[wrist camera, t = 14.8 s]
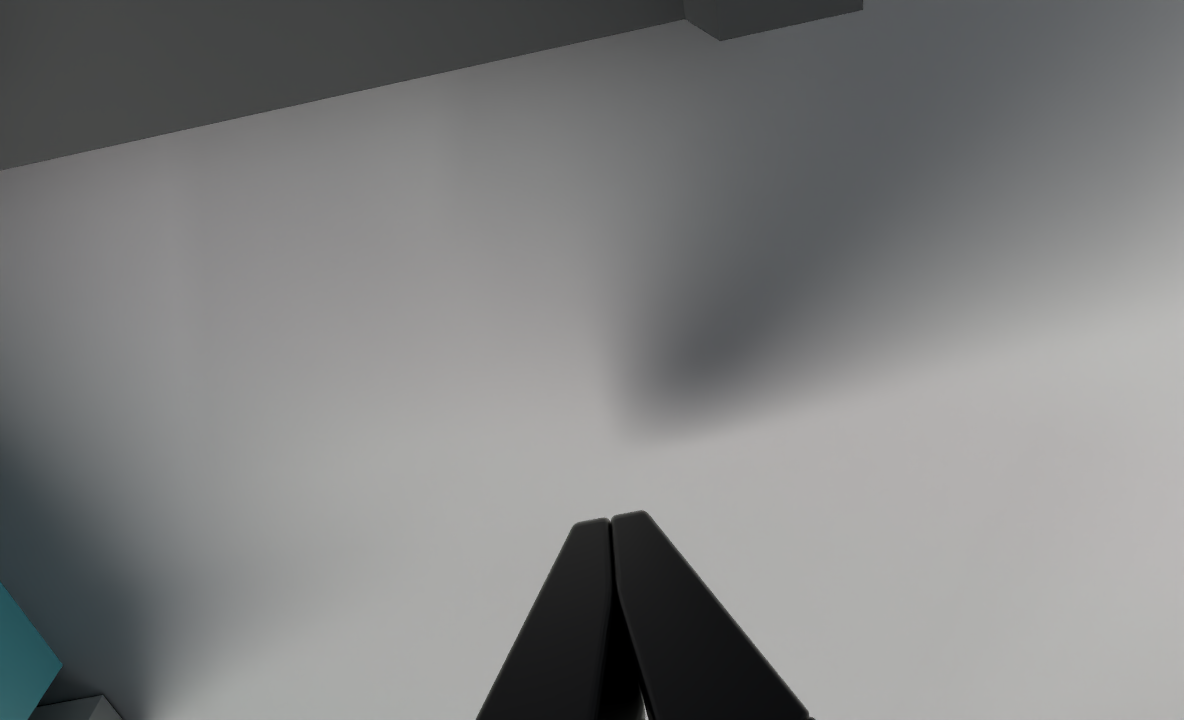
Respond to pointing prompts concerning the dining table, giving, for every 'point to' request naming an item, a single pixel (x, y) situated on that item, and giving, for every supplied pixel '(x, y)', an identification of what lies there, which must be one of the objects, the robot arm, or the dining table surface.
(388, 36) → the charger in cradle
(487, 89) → the dining table surface
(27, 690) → the plug
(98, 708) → the socket
